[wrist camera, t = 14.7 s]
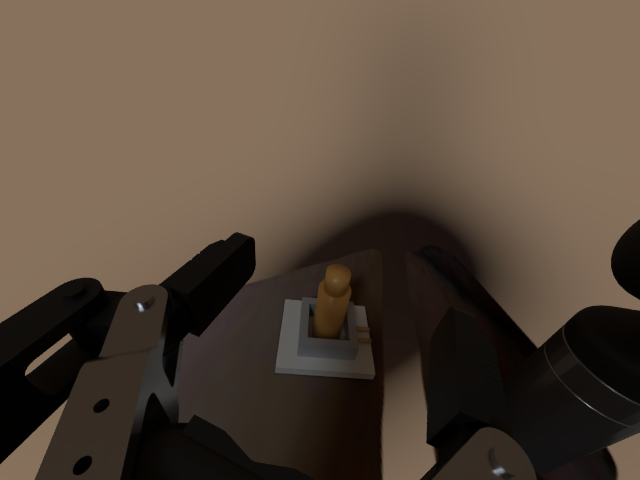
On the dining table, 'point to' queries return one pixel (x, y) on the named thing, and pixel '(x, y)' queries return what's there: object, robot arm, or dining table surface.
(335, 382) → the dining table surface
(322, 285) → the stepped amber cylinder
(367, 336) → the hollow square frame plate
